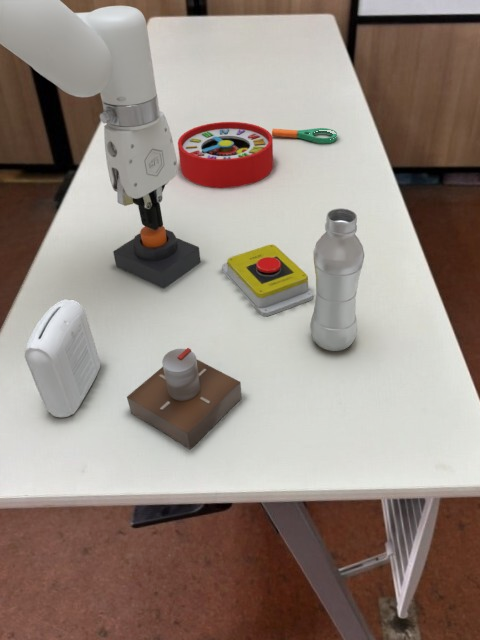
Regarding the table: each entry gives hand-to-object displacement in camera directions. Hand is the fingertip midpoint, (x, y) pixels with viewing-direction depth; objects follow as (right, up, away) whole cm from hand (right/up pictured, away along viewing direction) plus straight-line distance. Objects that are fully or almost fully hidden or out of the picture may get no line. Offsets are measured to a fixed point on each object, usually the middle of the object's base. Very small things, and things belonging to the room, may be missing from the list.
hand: (152, 225), depth 92 cm
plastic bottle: (+28, -19, -10) cm, 35 cm away
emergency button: (+18, -9, +1) cm, 20 cm away
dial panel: (+8, -27, -19) cm, 34 cm away
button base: (0, -6, +5) cm, 8 cm away
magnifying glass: (+27, +29, +43) cm, 58 cm away
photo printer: (-7, -25, -16) cm, 30 cm away
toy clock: (+10, +19, +33) cm, 39 cm away
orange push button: (0, -2, +2) cm, 3 cm away
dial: (+8, -24, -21) cm, 33 cm away
